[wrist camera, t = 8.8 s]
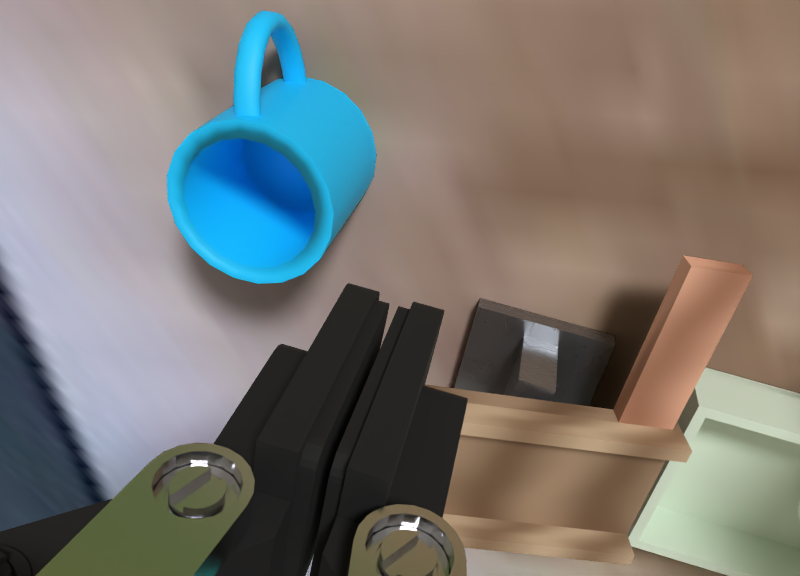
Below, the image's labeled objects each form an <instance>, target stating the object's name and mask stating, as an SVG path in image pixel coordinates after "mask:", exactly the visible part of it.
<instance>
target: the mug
mask: <svg viewBox="0 0 800 576" xmlns="http://www.w3.org/2000/svg"><path fill="white" fill-rule="evenodd" d="M270 35H271V37H272V39H273V42H274V44H275V46H276V49H277V52H278V56H279V60H280V64H281V68H282V73H283V78H282V79H277V80H275V81H273V82H271V83H269V84H267V85H266V86H264V87H262V88H261V73H262V67H263V61H264V54H265V49H266V46H267V44H268V41H269V38H270ZM233 101H234V105H233V106H232V107H230V108H229V109H227V110H226V111H224V112H223V113H221V114H219V115H218V116H216V117H215V118H213V119H212V120H210V121H209V122H207V123H205V124H204V125H202V126H201V127H199V128H198V129H196V130H195V131H193V132H192V133H190V134H189V135H188V136H187V138H186V139H185V140H184V141H183V142H182V144H181V145H180V146H179V147H178V148H177V150H176V151H175V152H174V155H173V158H172V161H171V164H170V167H169V170H168V174H167V194H168V202H169V206H170V209H171V212H172V215H173V218H174V221H175V224H176V226H177V227H178V229H179V230H180V232H181V233H182V235H183V236H184V238H185V239H186V241H187V242H188V244H189V245H190V247H191V248H192V249H193V250H194V251H195V252H196V253H198V254H199V255H200V256H201V257H202V258H203V259H204V260H205V261H206V262H207V263H208V264H210V265H211V266H213V267H215V268H216V269H218V270H220V271H222V272H224V273H226V274H227V275H229V276H231V277H233V278H237V279H241V280H245V281H249V282H253V283H257V284H262V283H282V282H285V281H287V280H290V279H292V278H295V277H298V276H300V275H303V274H304V273H305V272H306V271H308V270H309V269H310V268H311V267H312V266H313V265H314V264H315V263H316V262H318V261H319V260H320V259H321V257H322V256H323V254H324V253H325V252H326V250H327V249H328V247H329V246H330V244H331V243H332V241H333V240H334V238H335V237H336V235H337V234H338V233H339V231H340V230H341V228H342V227H343V225H344V224H345V222H346V221H347V219H348V218H349V217H350V215H351V214H352V212H353V211H354V209H355V208H356V206H357V205H358V203H359V202H360V201H361V199H362V198H363V196H364V195H365V193H366V191H367V189H368V187H369V185H370V183H371V181H372V179H373V177H374V170H375V163H376V156H377V155H376V149H375V144H374V138H373V133H372V131H371V129H370V127H369V125H368V123H367V121H366V119H365V117H364V115H363V113H362V111H361V110H360V109H359V108H358V107H357V106H356V105H355V104H354V103H353V102H352V101H351V100H350V99H349V98H348V97H347V96H346V94H345V93H343V92H341V91H340V90H338V89H336V88H334V87H333V86H331V85H329V84H327V83H325V82H324V81H320V80H315V79H311V78H306V74H305V67H304V62H303V58H302V53H301V48H300V45H299V42H298V40H297V37H296V35H295V32H294V29H293V28H292V26H291V25H290V24H289V22H288V21H287V20H286V18H285V17H284V16H283V15H282V14H279V13H276V12H269V11H261V12H258V13H257V14H256V15H255V16H254V17H253V18H252V19H251V20H250V21H249V22H248V23H247V24H246V27H245V29H244V32H243V34H242V37H241V40H240V42H239V46H238V52H237V58H236V64H235V70H234V96H233Z"/></svg>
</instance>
